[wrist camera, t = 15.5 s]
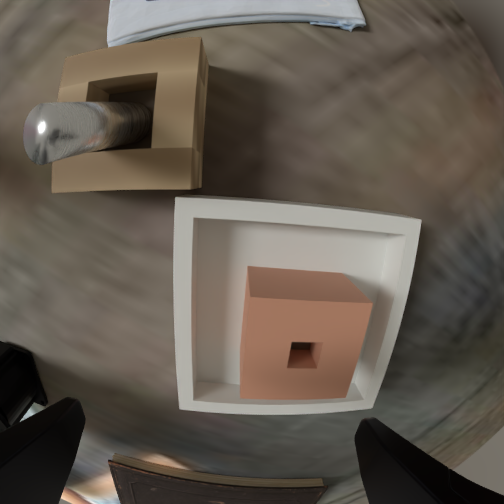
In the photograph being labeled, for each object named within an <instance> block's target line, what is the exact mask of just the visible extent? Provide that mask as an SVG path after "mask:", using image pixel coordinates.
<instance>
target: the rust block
mask: <svg viewBox="0 0 504 504" xmlns="http://www.w3.org/2000/svg"><path fill="white" fill-rule="evenodd" d="M372 306H373V302H372V301H371V300H370V299H368V298H367V297H366V296H365V295H364V294H363V293H362V292H361V291H360V290H359V289H358V288H357V287H356V286H355V285H354V284H353V283H352V282H351V281H350V280H349V279H348V278H347V277H346V276H345V275H344V274H343V273H337V272H323V271H309V270H295V269H282V268H269V267H256V266H247V277H246V288H245V299H244V309H243V320H242V331H241V342H240V398H241V399H266V400H310V399H335V398H346V395H347V393H348V390H349V387H350V384H351V381H352V378H353V374H354V371H355V368H356V365H357V362H358V358H359V355H360V351H361V348H362V344H363V341H364V337H365V333H366V330H367V326H368V322H369V318H370V314H371V310H372Z"/></svg>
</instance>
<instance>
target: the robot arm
mask: <svg viewBox="0 0 504 504" xmlns="http://www.w3.org/2000/svg"><path fill="white" fill-rule="evenodd" d="M34 402H35V403H37V404H40V405H43V406H46V405H47V404H48V401H47V398H46V396H45V393H44V390H43V388H42V385H41V382H40V379H39V376H38V373H37V370H36V367H35V364H34V361H33V357H32V355H31V353H30V352H28V351H26V350H23V349H20V348H17V347H14V346H11V345H8V344H5V343H2V342H0V504H59V501H60V498H61V495H62V492H63V490H64V487H65V484H66V482H67V479H68V476H69V474H70V471H71V468H72V466H73V463H74V461H75V458H76V454H77V451H78V447H79V443H80V439H81V436H82V432H83V429H84V425H85V415H84V412H83V409H82V406H81V403H80V401H79V400H78V399H75V398H71V397H66V398H64V399H62V400H60V401H59V402H57V403H55V404H53V405H51V406H49V407H47V408H46V409H44V410H42V411H40V412H38V413H36V414H34V415H32V416H31V417H29V418H27V419H25V420H23V421H21V422H20V420H21V419H22V418H23V416H24V415H25V414H26V412H27V411H28V410H29V408H30V407H31V406H32V404H33V403H34ZM355 446H356V451H357V457H358V462H359V468H360V473H361V478H362V481H363V485H364V488H365V491H366V494H367V498H368V501H369V504H504V495H501V494H499V493H496V492H494V491H492V490H489V489H487V488H485V487H482V486H480V485H478V484H476V483H474V482H472V481H470V480H468V479H466V478H465V477H463V476H461V475H459V474H458V473H456V472H455V471H453V470H451V469H449V468H448V467H447V466H445V465H443V464H442V463H440V462H439V461H437V460H436V459H434V458H433V457H431V456H430V455H428V454H427V453H425V452H424V451H422V450H421V449H419V448H418V447H416V446H415V445H413V444H412V443H410V442H409V441H407V440H406V439H405V438H403V437H402V436H400V435H399V434H397V433H396V432H394V431H393V430H392V429H390V428H389V427H387V426H386V425H385V424H383V423H382V422H380V421H379V420H378V419H376V418H374V417H371V418H364V419H362V420H361V422H360V425H359V427H358V429H357V432H356V434H355Z"/></svg>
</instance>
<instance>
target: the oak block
mask: <svg viewBox="0 0 504 504" xmlns="http://www.w3.org/2000/svg"><path fill="white" fill-rule="evenodd" d="M208 71H209V64H208V60H207V56H206V53H205V49H204V45H203V42H202V38H201V37H189V38H174V39H163V40H153V41H145V42H137V43H131V44H124V45H118V46H113V47H108V48H103V49H98V50H93V51H89V52H85V53H80V54H76V55H73V56H69V57H65V62H64V67H63V72H62V77H61V83H60V89H59V95H58V102H127V103H140V104H142V105H144V106H145V107H146V108H147V109H148V110H149V112H150V115H151V128H150V130H149V132H148V134H147V135H146V137H145V138H144V139H142V140H141V141H139V142H135V143H130V144H125V145H120V146H115V147H110V148H105V149H101V150H97V151H92V152H88V153H84V154H80V155H76V156H72V157H68V158H65V159H61V160H57V161H54V162H52V193H62V192H80V191H103V190H145V189H196V188H202V165H203V143H204V125H205V110H206V96H207V83H208Z"/></svg>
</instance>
